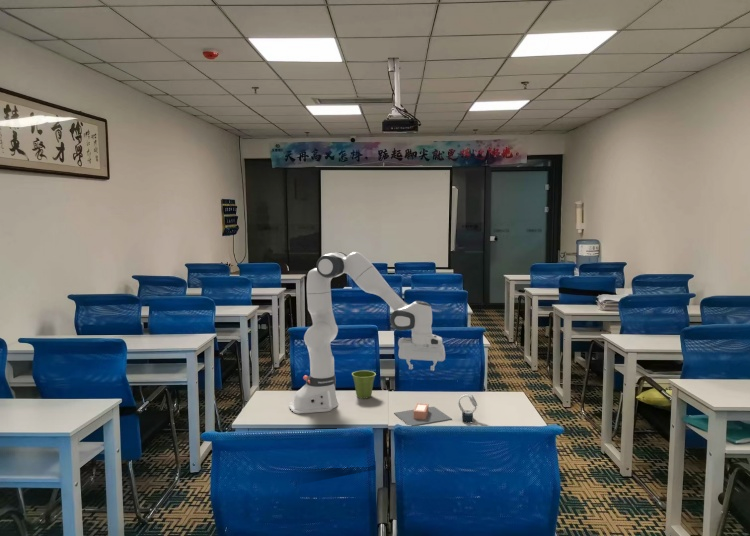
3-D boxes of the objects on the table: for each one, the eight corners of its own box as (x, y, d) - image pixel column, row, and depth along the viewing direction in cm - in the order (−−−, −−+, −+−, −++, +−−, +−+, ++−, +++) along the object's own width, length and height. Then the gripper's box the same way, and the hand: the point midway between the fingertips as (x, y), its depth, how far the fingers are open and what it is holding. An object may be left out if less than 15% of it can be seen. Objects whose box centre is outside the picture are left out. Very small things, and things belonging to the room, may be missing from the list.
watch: (477, 422, 210) (477, 397, 209) (458, 422, 211) (458, 396, 210) (476, 417, 216) (477, 392, 215) (458, 417, 217) (458, 392, 216)
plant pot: (378, 399, 241) (378, 376, 240) (354, 401, 238) (354, 378, 237) (373, 391, 252) (373, 369, 251) (350, 393, 250) (349, 371, 249)
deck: (417, 403, 224) (413, 411, 214) (428, 403, 223) (425, 411, 213) (417, 410, 224) (413, 418, 215) (428, 411, 223) (425, 419, 213)
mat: (409, 426, 207) (409, 425, 207) (393, 413, 222) (393, 412, 222) (451, 419, 214) (451, 418, 214) (433, 407, 229) (433, 406, 229)
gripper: (396, 338, 217) (396, 370, 218) (444, 341, 212) (443, 373, 213) (399, 335, 223) (399, 366, 224) (445, 338, 218) (445, 369, 219)
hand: (421, 369), depth 219 cm, fingers open, 8 cm apart
